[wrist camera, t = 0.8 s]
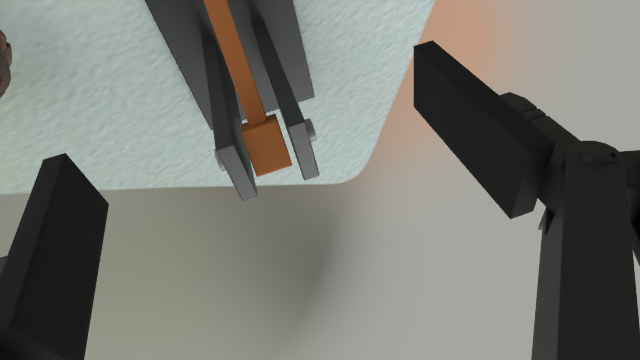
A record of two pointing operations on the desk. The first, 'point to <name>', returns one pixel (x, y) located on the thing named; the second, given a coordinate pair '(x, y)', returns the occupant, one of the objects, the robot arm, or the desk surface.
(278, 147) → the switch
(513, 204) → the robot arm
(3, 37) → the brown jagged hollow piece
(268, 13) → the switch base
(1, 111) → the desk surface
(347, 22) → the desk surface
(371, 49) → the desk surface
